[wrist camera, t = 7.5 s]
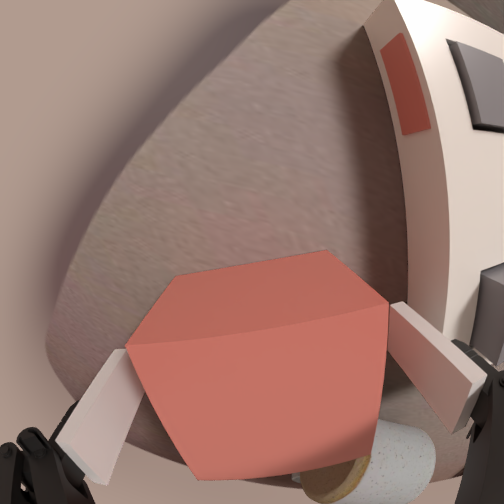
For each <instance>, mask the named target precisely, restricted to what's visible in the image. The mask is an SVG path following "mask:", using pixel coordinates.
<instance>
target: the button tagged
mask: <svg viewBox="0 0 504 504" xmlns="http://www.w3.org/2000/svg"><path fill="white" fill-rule="evenodd" d="M449 49H450V51H451V54H452V57H453V60H454V62H455V65H456V68H457V71H458V74H459V77H460V80H461V84H462V87H463V90H464V94H465V98H466V101H467V105H468V109H469V114H470V118H471V123H472V127H473V130H481V131H489V132H496V133H500V132H504V62H503V60H502V59H501V58H499V57H496V56H494V55H492V54H489V53H487V52H485V51H482V50H480V49H477V48H474V47H472V46H469V45H466V44H463V43H460V42H457V41H456V42H454V43H452V44H451V45H449Z"/></svg>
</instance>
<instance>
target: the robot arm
mask: <svg viewBox="0 0 504 504" xmlns="http://www.w3.org/2000/svg"><path fill="white" fill-rule="evenodd" d="M387 351H388V352H389V353H390V354H391V356H392V357H393V358H394V359H395V361H396V362H397V363H398V365H399V366H400V367H401V368H402V370H403V371H404V372H405V373H406V375H407V376H408V377H409V379H410V380H411V381H412V383H413V384H414V385H415V386H416V388H417V389H418V390H419V392H420V393H421V394H422V396H423V397H424V398H425V400H426V401H427V402H428V404H429V405H430V406H431V408H432V409H433V410H434V412H435V413H436V415H437V416H438V417H439V419H440V420H441V421H442V423H443V424H444V426H445V427H446V428H447V430H448V431H449V433H450V434H451V435H452V434H453V433H455V432H457V431H459V430H460V429H462V428H464V427H465V426H466V424H467V422H468V420H469V418H470V416H471V418H472V419H473V420H474V423H473V425H472V427H471V429H470V431H469V433H468V435H467V437H466V439H468V438H469V436H470V435H471V438H470V444H469V449H468V454H467V459H466V464H465V468H464V472H463V476H462V480H461V484H460V488H459V491H458V494H457V498H456V501H455V504H504V371H500V372H498V371H497V370H496V369H495V368H494V367H492V366H491V365H490V364H489V363H488V362H487V361H486V360H485V359H483V358H482V357H481V356H480V355H478V353H476V352H475V351H474V350H472V348H471V347H469V346H468V345H467V344H466V343H464V342H462V341H459V340H457V339H454V340H451V341H450V340H448V339H447V338H446V337H445V336H444V335H443V334H442V333H440V332H439V331H438V330H437V329H436V328H434V327H433V326H432V325H431V324H430V323H429V322H427V321H426V320H425V319H424V318H423V317H421V316H420V315H419V314H418V313H417V312H415V311H414V310H413V309H412V308H410V307H409V306H408V305H407V304H405V303H404V302H403V301H402V302H398V303H395V304H391V305H390V315H389V334H388V348H387ZM144 392H145V389H144V387H143V385H142V383H141V381H140V379H139V377H138V375H137V372H136V370H135V368H134V366H133V363H132V361H131V359H130V356H129V354H128V352H127V349H115V350H114V351H113V352H112V354H111V355H110V357H109V358H108V360H107V361H106V363H105V364H104V365H103V367H102V368H101V370H100V371H99V373H98V374H97V376H96V377H95V379H94V380H93V382H92V383H91V385H90V386H89V388H88V389H87V391H86V392H85V394H84V395H83V397H82V398H81V400H80V401H79V400H78V401H76V402H75V403H74V404H73V405H72V406H71V407H70V408H69V409H68V411H67V412H66V414H65V416H64V417H63V418H62V420H61V421H62V422H60V423H59V425H58V426H57V428H56V429H55V431H54V433H53V434H52V436H51V437H50V439H49V441H47V439H46V438H45V437H44V436H43V434H42V433H41V432H40V431H39V429H37V428H35V427H30V428H26V429H24V430H23V431H22V432H21V433H20V434H19V435H18V437H17V440H16V442H17V444H18V445H19V446H20V447H21V448H22V449H23V451H20V450H19V448H18V447H17V446H16V445H15V444H14V443H12V442H8V443H4V444H3V445H1V447H0V504H95V502H94V500H93V497H92V495H91V493H90V490H89V488H88V486H87V484H86V482H85V481H84V480H83V478H84V476H85V475H86V476H87V477H88V478H89V479H90V480H91V481H92V482H95V483H99V484H104V485H108V483H109V480H110V477H111V475H112V472H113V469H114V467H115V464H116V461H117V459H118V456H119V454H120V451H121V448H122V446H123V443H124V441H125V438H126V436H127V433H128V431H129V428H130V426H131V423H132V421H133V418H134V416H135V414H136V411H137V409H138V406H139V404H140V402H141V399H142V397H143V394H144ZM21 483H22V484H23V485H24V486H25V487H26V490H25V491H23V490H22V489H21Z"/></svg>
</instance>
